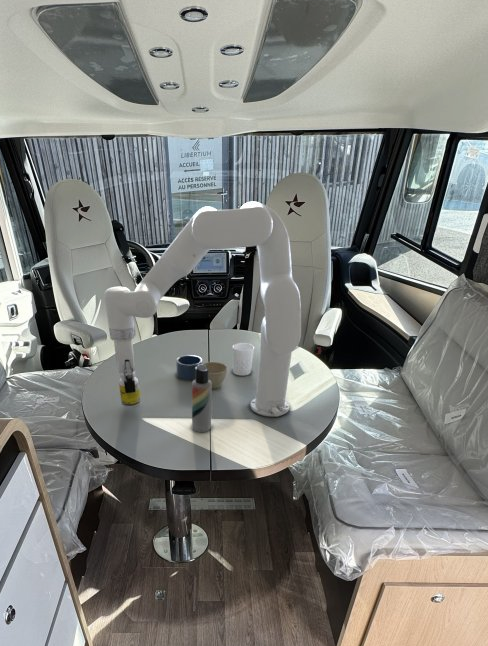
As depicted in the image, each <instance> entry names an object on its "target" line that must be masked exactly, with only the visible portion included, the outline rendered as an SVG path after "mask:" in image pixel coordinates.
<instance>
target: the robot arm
mask: <svg viewBox="0 0 488 646" xmlns="http://www.w3.org/2000/svg"><path fill="white" fill-rule="evenodd" d="M248 247H250V248H251V247H256V249H257V255H258V264H259V276H260V277H259V278H260V289H259V290H260V291H259V292H260V298H261V300H262V302H263V308H264V316H263V318H262V321H261V326H260V344H259V345H260V349H259V360H258V369H257V370H258V371H257V381H256V393H255V397H254V398H253V399H252V400H251V401H250V409H251V410H252V412H254V413H256V414H258V415H260V416H263V417H269V418H270V417H273V418H274V417H275V418H276V417H281V416H284V415H285V414H287V413H288V412H289V410H290V404H289V402H288V401H287V400H286V397H287V390H288V382H289V376H290V375H289V374H290V369H291V361H292V352H293V351H295V350H296V349H297V347H298V346H299V344H300V341H301V338H302V307H301V306H302V304H301V294H300V290H299V287H298V285H297V283H296V282H295V281H294V277H293V270H292V253H291V243H290V237H289V233H288V230H287V227H286V224H285V223H284V221H283V220H282V218H281V217H280V215H279V214H278V213H277V212H276V211H275V210H274V209H272V208H271V207H270V206H268V205H266V204H264V203H261V202H258V201H248V202H246V203H243V205H242V206H241V207H240V208H232V209H216V208H215V207H212V206H204V207H201V208H199V209H198V210H197V211H196V212H195V213H194V215H192V217H191V218H190V220H189V221H187V223H186V224H185V226H184V227H183V228H182V230H180V232H179V233H178V234H177V236H176V237H174V239H173V241H172V242H171V243H170V244H169V246H167V248H166V249H165V250H164V252H162V254H161V256H160V257H159V258H158V260H157V261H156V262H155V263H154V264H153V265H152V267H151V268H150V270H149V271H148V272H147V273H146V274H145V276H144V277H143V278H142V279H141V281H140V282H139V283H138V284H137V286H136V288H135V289H134V290H133V291H131V290H130V289H129V288H128V287H125V286H113V287H109V288H107V289H106V290H105V291H104V303H105V309H106V316H107V324H108V331H109V336H110V340H112V341H113V344H114V353H115V360H116V366H117V371H118V373H119V374H120V373H124V379H125V381H124V386H125V392H126V393H132V392H136V390H135V381H134V378H133V372H134V371H135V370H136V369H135V368H136V367H135V365H136V364H135V353H134V344H133V340H134V339H135V338H136V336H137V335H136V327H135V318H140V319H141V318H142V319H148V318H151V317H153V316H154V315H155V314H156V313H157V310H158V307H159V304H160V301H161V299H163V297H164V296H165V294H166V293H167V292H168V291H169V289H170V288H171V287H173V285H175V283H176V282H177V281H179V280H180V279H182V278H185V277H186V276H188V275H189V274H191V272H193V270H194V269H195V268H196V266H197V265H198V264H199V263H200V262H201V261H202V259H203V258H204V257H205V256H206V255H207V253H208V252H210V251H211V250H227V249H236V248H237V249H238V248H248ZM125 370H126V371H125ZM135 372H136V371H135ZM126 373H127V375H126Z"/></svg>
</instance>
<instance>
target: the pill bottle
mask: <svg viewBox="0 0 488 646" xmlns="http://www.w3.org/2000/svg"><path fill="white" fill-rule="evenodd" d="M125 371H126V370H125ZM126 375H127V373H126ZM119 376H120V379H119V381H118V387H119V393H120V400H121V401H120V402H121V405H122V406H123V407H124V408H127V409H130V408H136V407H138V406H140V405H141V402H142V401H141V393H140V392H141V391H140V384H139V383H140V382H139V379H138V377H136V371H134V372H133V378H134V381H135V390H136V392H132V393H126V392H125V386H124V381H125V379H124V373H119Z"/></svg>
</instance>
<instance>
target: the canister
mask: <svg viewBox="0 0 488 646" xmlns="http://www.w3.org/2000/svg"><path fill="white" fill-rule="evenodd" d="M200 364H203V359H202V358H201V357H200V356H199V355H193V354H186V355H182V356H181V355H180V356H179V357H177V358H176V363H175V365H176V377H177V379H180V380H183V381H194V380H195V368H196V367H197V365H200Z"/></svg>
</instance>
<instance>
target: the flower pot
mask: <svg viewBox="0 0 488 646" xmlns="http://www.w3.org/2000/svg"><path fill="white" fill-rule="evenodd" d="M202 365H207V366H208V367H209V380H210V381H211V382H212V390H216V389H219V388H220V387H221V385H222V384H223V382H224V380H225V378H226V376H227V373H228V366H227V365H226V364H225V363H221V362H219V361H207V362H206V361H205V362H202Z"/></svg>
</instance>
